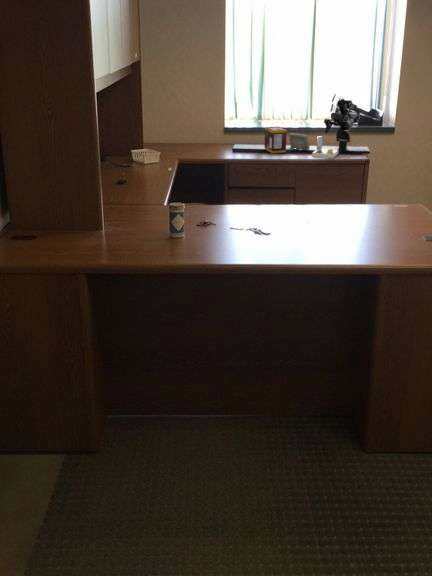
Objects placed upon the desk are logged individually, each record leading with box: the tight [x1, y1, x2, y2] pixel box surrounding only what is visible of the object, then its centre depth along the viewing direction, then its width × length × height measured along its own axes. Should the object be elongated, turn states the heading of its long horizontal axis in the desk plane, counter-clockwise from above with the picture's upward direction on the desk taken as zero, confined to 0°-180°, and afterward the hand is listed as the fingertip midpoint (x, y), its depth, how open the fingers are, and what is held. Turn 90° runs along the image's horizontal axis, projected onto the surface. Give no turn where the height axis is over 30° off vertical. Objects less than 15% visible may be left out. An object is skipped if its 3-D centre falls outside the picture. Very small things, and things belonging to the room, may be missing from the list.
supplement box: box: [264, 126, 287, 154], centre depth 442 cm, size 10×15×16 cm
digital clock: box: [288, 132, 310, 150], centre depth 450 cm, size 16×9×11 cm, turn 37°
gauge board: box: [311, 148, 339, 159], centre depth 431 cm, size 16×14×5 cm
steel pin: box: [316, 135, 324, 153], centre depth 427 cm, size 4×4×13 cm
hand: (331, 134), depth 430 cm, fingers open, 9 cm apart
